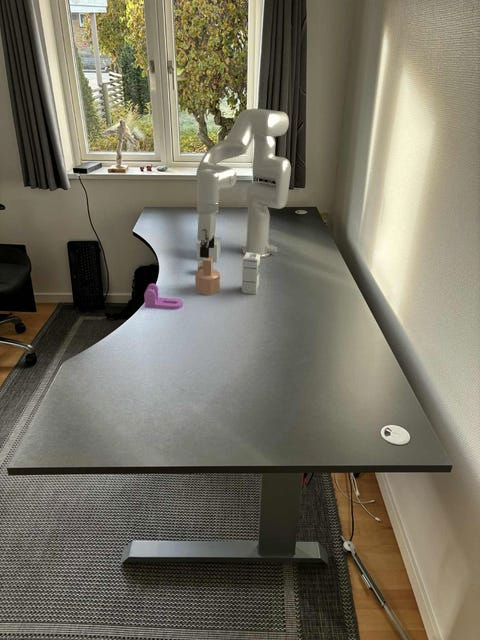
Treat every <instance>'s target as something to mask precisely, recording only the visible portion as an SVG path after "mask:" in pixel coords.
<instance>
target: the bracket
mask: <svg viewBox="0 0 480 640" xmlns="http://www.w3.org/2000/svg"><path fill="white" fill-rule="evenodd" d="M143 296H144V297H143V298H144V308H150V309H152V308H153V309H163V310H164V309H166V310H179V309H180V310H181V309H182V307H183V306H184V303H183V300H182V299H179V298H170V297H160V295H159V287H158V285H157V284H156V283H153V282H152V283H149V284H148V286H147V287H146V289H145V292H144V294H143Z"/></svg>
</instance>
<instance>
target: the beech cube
mask: <svg viewBox="0 0 480 640" xmlns="http://www.w3.org/2000/svg"><path fill="white" fill-rule="evenodd" d="M201 269H203V261H198V262H197V271H198V270H201Z"/></svg>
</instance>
